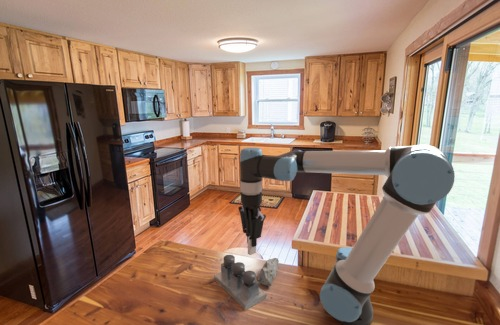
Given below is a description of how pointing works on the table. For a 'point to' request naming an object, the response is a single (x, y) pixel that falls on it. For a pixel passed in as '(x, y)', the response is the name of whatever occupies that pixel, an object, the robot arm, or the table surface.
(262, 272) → the rock
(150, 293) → the table surface
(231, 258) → the knob
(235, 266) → the knob
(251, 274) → the knob
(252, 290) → the square socket rack
